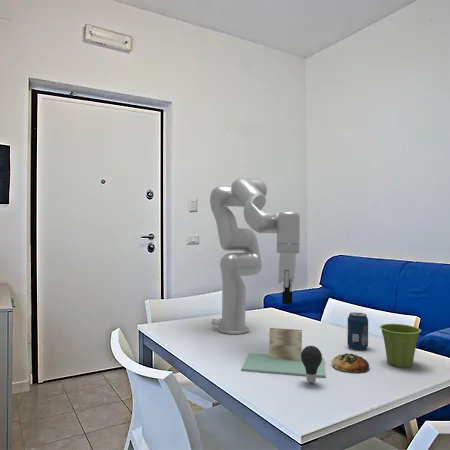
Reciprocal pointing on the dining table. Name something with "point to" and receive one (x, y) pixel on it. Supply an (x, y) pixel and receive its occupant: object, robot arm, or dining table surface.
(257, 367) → the rubber mat
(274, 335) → the tan wooden block
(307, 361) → the light bulb
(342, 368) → the bread roll
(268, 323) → the dining table surface
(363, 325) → the soda can
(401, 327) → the plant pot
